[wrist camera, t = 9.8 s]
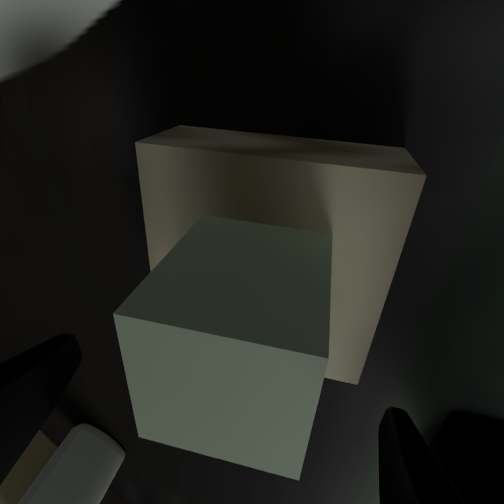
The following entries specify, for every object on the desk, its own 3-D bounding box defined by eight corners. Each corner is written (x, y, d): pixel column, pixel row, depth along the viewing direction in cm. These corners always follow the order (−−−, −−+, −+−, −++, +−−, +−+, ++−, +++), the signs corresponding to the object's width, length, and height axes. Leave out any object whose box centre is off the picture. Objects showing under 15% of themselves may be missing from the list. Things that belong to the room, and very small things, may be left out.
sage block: (332, 233, 12) (328, 358, 7) (312, 334, 14) (298, 480, 9) (202, 214, 13) (113, 313, 8) (204, 313, 15) (138, 436, 10)
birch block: (404, 147, 14) (426, 175, 10) (353, 326, 19) (357, 384, 15) (179, 125, 15) (135, 142, 12) (188, 295, 20) (159, 341, 17)
